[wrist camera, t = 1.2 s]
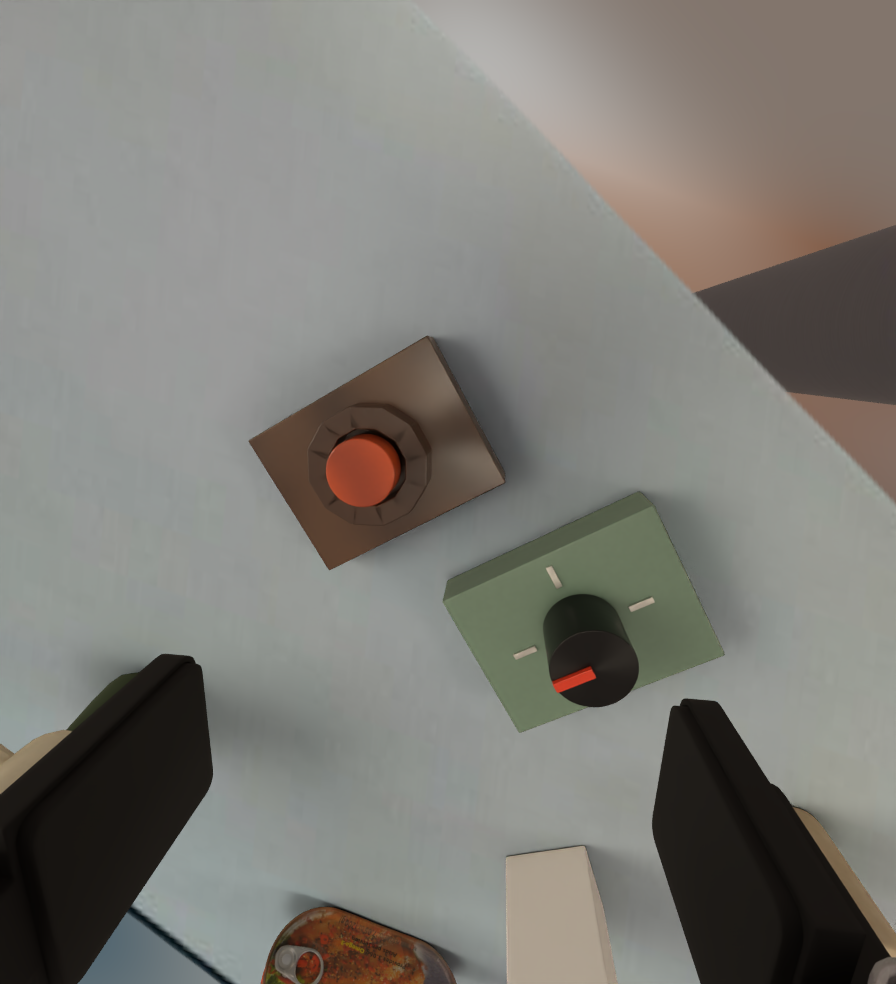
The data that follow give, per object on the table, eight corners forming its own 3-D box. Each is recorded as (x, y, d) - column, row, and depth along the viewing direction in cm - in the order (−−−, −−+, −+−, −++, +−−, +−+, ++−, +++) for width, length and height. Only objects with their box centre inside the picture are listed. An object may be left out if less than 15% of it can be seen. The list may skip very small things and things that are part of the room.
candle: (785, 880, 36) (888, 1072, 26) (720, 842, 36) (801, 1022, 26) (841, 830, 34) (973, 1015, 25) (774, 790, 34) (881, 961, 24)
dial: (601, 581, 28) (618, 619, 24) (633, 644, 29) (655, 692, 25) (529, 612, 29) (534, 654, 25) (563, 673, 30) (573, 723, 26)
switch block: (433, 337, 29) (422, 333, 25) (505, 474, 30) (506, 491, 27) (264, 435, 31) (231, 446, 27) (340, 557, 33) (318, 583, 29)
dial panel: (639, 490, 30) (654, 505, 27) (705, 628, 32) (727, 657, 29) (447, 580, 33) (441, 602, 30) (517, 702, 34) (519, 735, 31)
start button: (379, 421, 27) (371, 425, 25) (413, 480, 27) (407, 488, 26) (323, 452, 27) (312, 458, 26) (357, 509, 28) (348, 519, 26)
